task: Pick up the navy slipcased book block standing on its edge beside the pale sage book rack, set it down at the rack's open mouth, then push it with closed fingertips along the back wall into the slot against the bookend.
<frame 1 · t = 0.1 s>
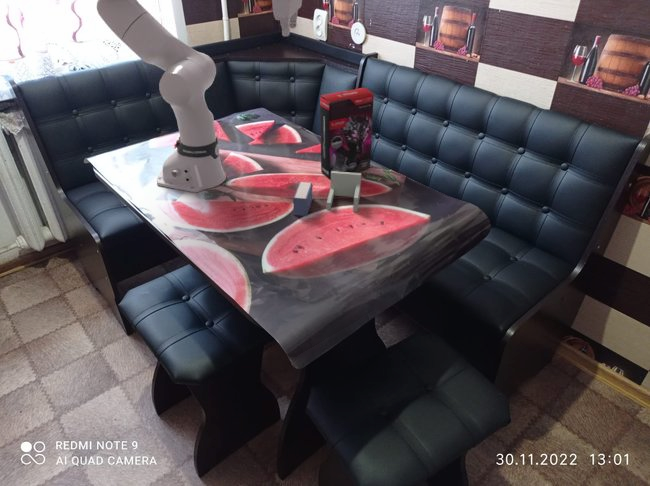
hand: (289, 31, 131), 48 cm above the table, fingers open, 8 cm apart
rack: (343, 204, 150), on the table
book: (303, 207, 149), on the table
graphics card box: (344, 171, 169), on the table
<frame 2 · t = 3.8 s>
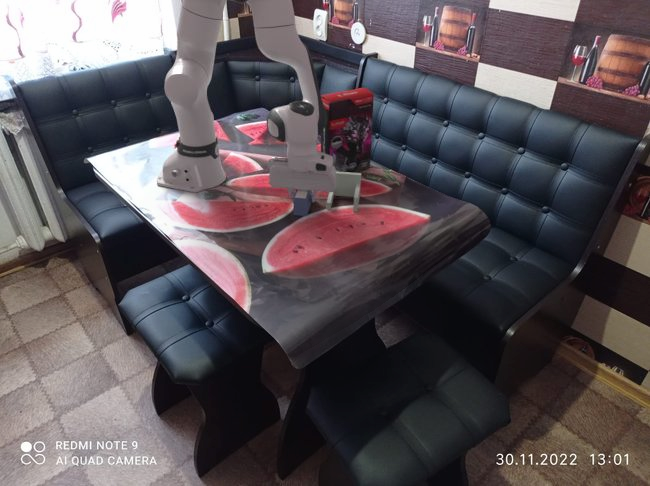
hand: (303, 200, 148), 2 cm above the table, fingers closed on book, 4 cm apart
book: (303, 207, 149), on the table, touching gripper
everything else where it was.
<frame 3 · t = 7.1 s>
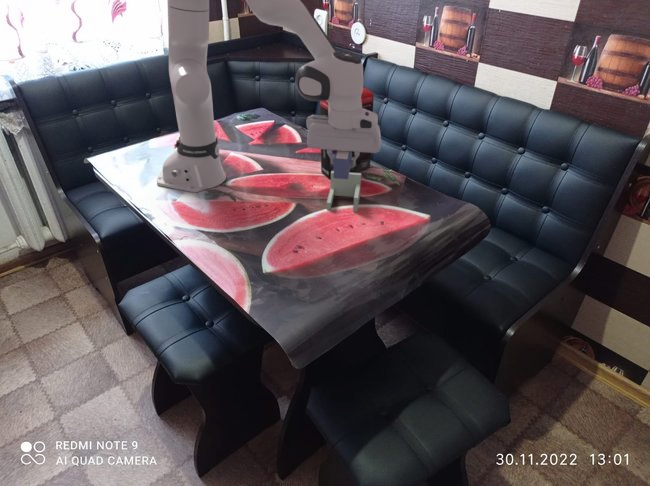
hand: (343, 163, 136), 17 cm above the table, fingers closed on book, 4 cm apart
book: (342, 170, 137), point 14 cm above the table, touching gripper
everything else where it was.
when the fingers open (2 cm above the table, at t = 9.9 s): book stays where it is, on the table.
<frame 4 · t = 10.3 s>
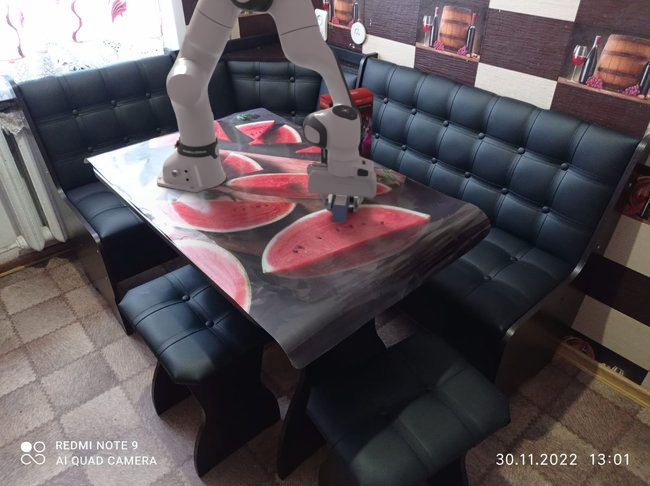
hand: (341, 206, 144), 2 cm above the table, fingers open, 8 cm apart
book: (340, 213, 146), on the table
everything else where it was.
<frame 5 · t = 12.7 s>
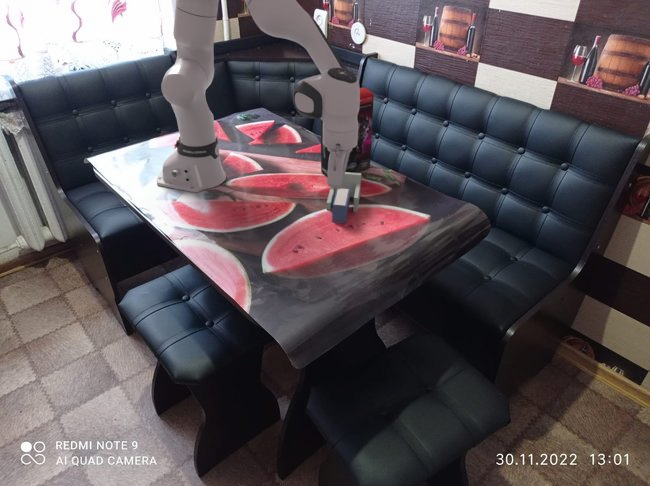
hand: (338, 185, 129), 15 cm above the table, fingers closed
nothing on the table moved.
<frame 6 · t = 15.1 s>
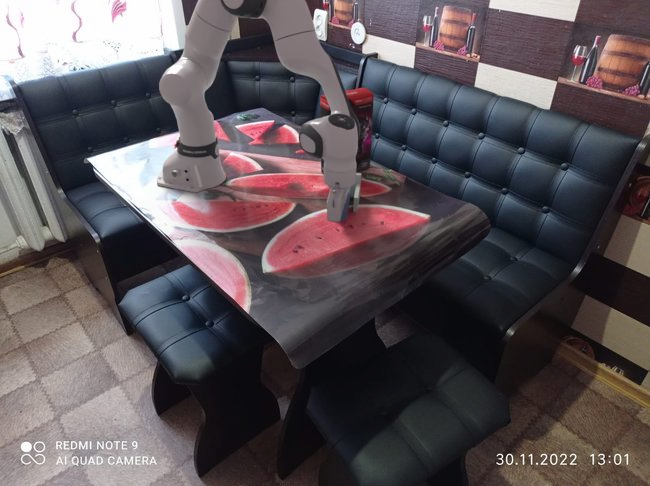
hand: (338, 217, 139), 3 cm above the table, fingers closed
book: (341, 211, 147), on the table, touching gripper
everything else where it was.
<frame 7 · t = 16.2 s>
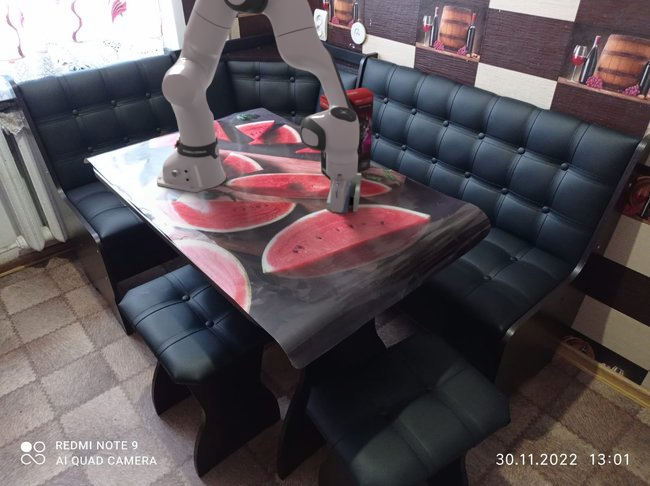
hand: (340, 209, 143), 3 cm above the table, fingers closed
book: (342, 204, 150), on the table, touching gripper, rack
everything else where it was.
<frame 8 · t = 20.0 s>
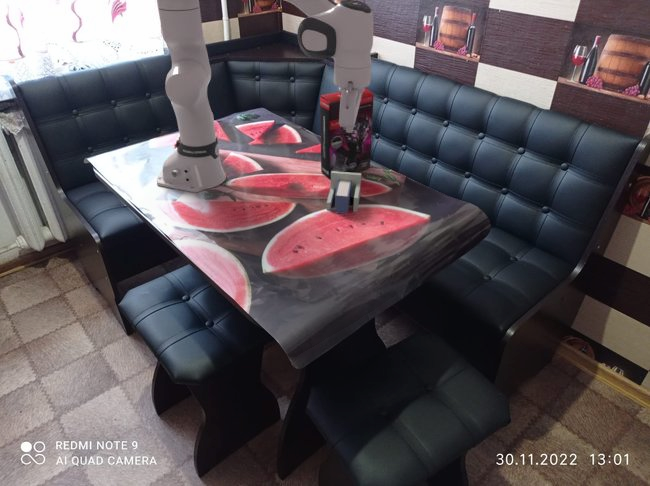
hand: (349, 130, 124), 29 cm above the table, fingers closed
book: (342, 204, 150), on the table
everything else where it was.
at the end: book 1.9 cm from the target spot, on the table; book tilted 0°; the gripper is holding nothing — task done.
